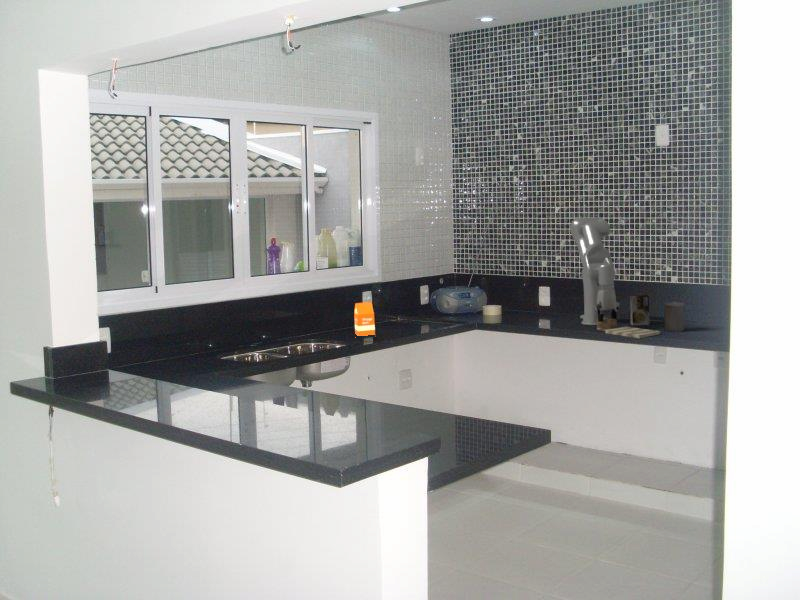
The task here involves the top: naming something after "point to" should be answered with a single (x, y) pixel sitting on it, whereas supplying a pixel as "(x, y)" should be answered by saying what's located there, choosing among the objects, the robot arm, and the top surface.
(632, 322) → the coffee box
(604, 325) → the block
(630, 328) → the pine board
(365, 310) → the orange juice
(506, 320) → the top surface
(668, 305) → the pillar candle
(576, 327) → the top surface
